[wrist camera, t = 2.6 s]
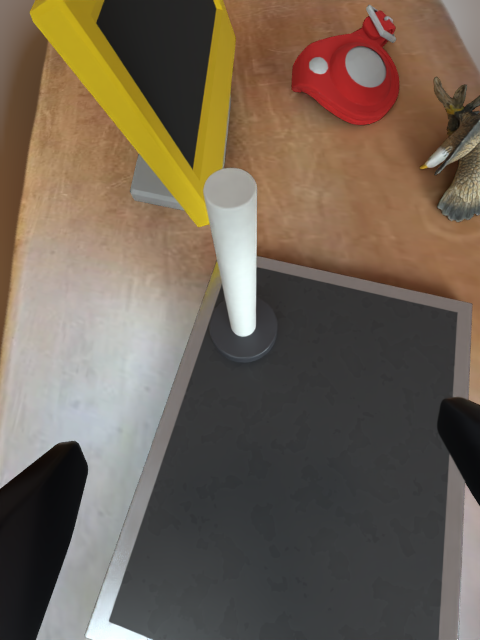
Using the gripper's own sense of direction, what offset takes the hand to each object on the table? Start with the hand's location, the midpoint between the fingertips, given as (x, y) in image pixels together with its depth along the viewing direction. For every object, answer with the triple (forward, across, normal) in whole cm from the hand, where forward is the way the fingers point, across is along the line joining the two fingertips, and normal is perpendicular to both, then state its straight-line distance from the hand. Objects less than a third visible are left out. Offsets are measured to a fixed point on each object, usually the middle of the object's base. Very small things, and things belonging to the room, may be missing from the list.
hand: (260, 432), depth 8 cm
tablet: (+9, -3, +10) cm, 13 cm away
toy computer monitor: (+27, +3, -8) cm, 28 cm away
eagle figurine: (+23, -18, -4) cm, 29 cm away
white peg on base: (+14, 0, +4) cm, 14 cm away
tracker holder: (+31, -13, -12) cm, 36 cm away
